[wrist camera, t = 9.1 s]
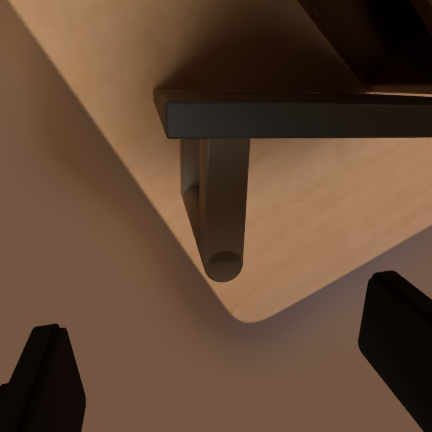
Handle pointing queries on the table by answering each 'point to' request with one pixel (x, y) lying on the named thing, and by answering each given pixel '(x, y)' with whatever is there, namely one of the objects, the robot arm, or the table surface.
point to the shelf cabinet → (380, 40)
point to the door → (262, 128)
